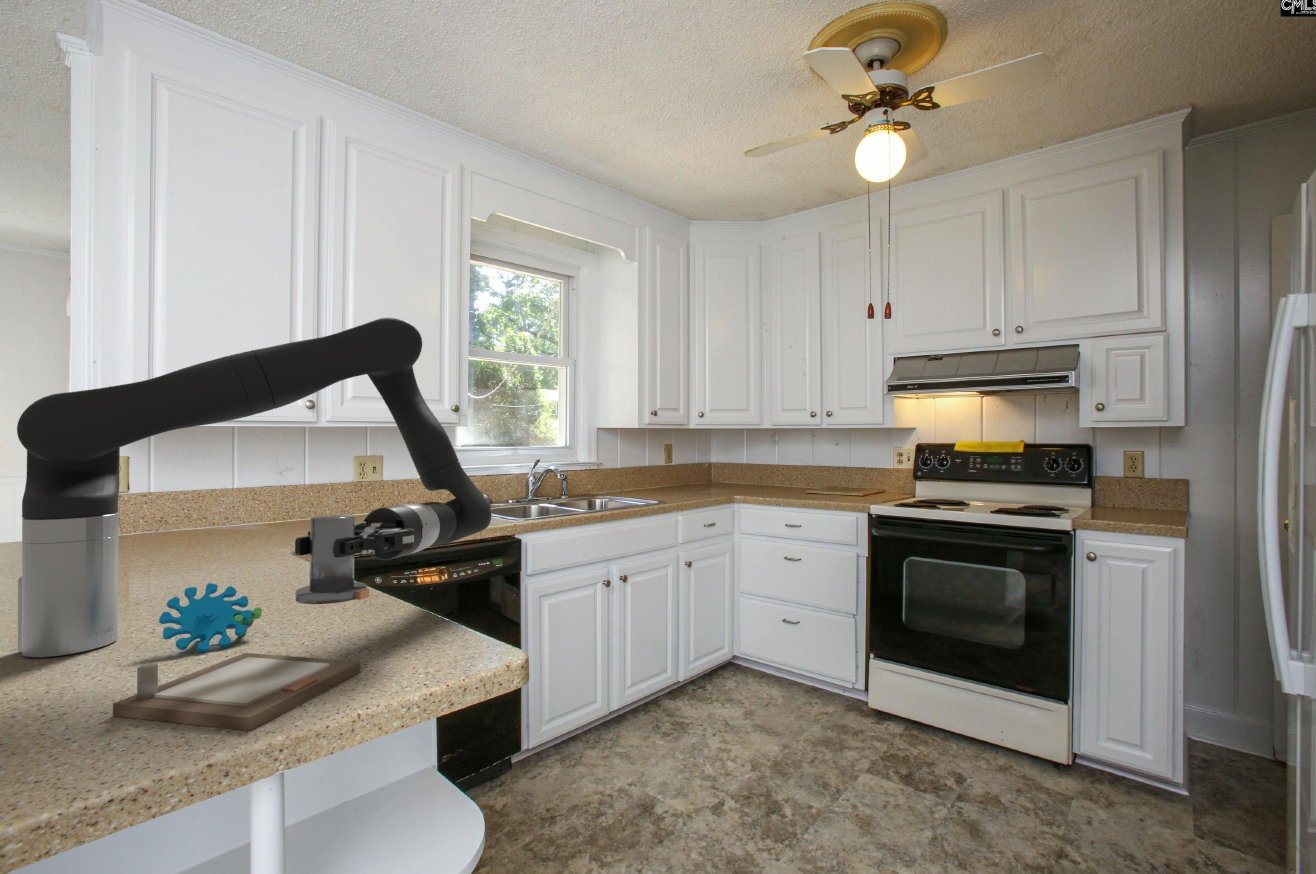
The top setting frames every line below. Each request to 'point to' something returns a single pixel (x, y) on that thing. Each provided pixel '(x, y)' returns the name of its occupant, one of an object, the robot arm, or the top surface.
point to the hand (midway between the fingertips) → (317, 547)
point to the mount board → (234, 690)
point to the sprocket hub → (331, 564)
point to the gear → (208, 617)
